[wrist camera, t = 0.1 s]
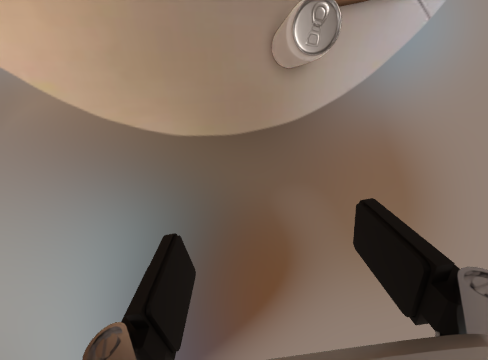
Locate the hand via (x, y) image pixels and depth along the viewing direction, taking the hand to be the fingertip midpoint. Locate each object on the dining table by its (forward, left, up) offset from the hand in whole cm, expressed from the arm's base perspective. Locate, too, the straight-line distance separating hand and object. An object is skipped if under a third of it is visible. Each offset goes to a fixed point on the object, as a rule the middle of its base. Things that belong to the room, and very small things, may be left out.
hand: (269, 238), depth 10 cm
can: (-12, +10, -31) cm, 35 cm away
